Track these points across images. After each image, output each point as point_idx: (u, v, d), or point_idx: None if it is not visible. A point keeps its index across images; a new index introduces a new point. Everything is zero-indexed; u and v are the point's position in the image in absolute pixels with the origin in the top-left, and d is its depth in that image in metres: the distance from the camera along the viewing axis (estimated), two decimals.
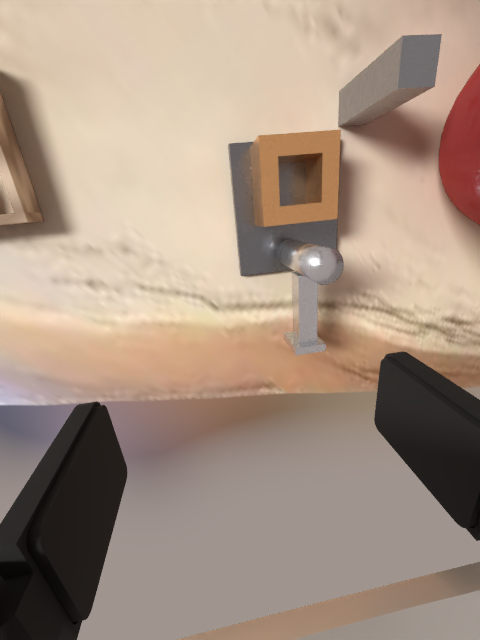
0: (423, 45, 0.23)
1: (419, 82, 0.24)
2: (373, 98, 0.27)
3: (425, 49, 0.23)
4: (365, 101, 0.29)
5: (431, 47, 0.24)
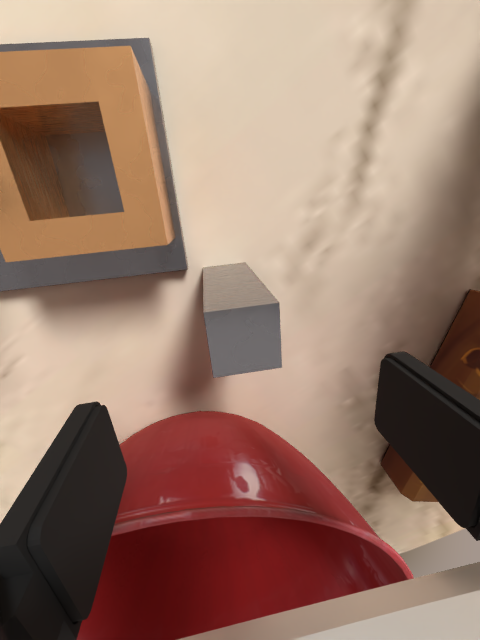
0: (267, 342, 0.14)
1: (216, 350, 0.13)
2: (211, 289, 0.16)
3: (262, 347, 0.14)
4: (213, 283, 0.17)
5: (265, 356, 0.14)
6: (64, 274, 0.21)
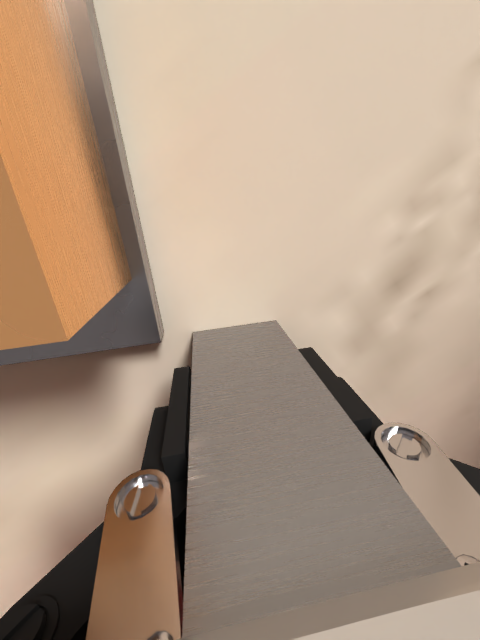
0: None
1: None
2: (216, 491, 0.05)
3: None
4: (220, 432, 0.06)
5: None
6: None
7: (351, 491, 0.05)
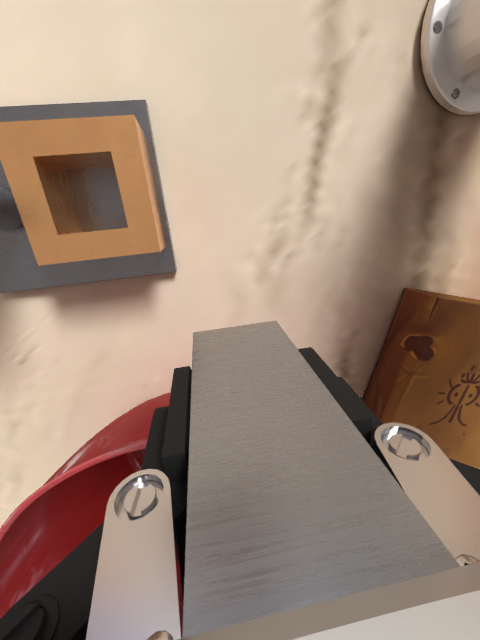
0: None
1: None
2: (216, 491, 0.05)
3: None
4: (220, 432, 0.06)
5: None
6: (76, 276, 0.26)
7: (350, 491, 0.05)
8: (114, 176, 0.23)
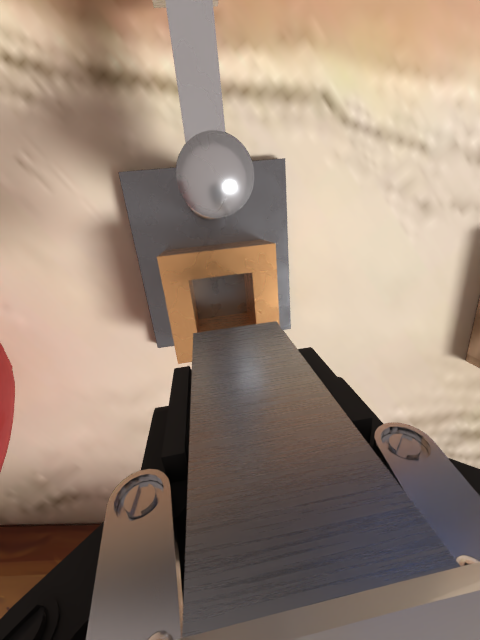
0: None
1: None
2: (216, 493, 0.05)
3: None
4: (220, 434, 0.06)
5: None
6: (145, 256, 0.25)
7: (352, 493, 0.05)
8: (238, 301, 0.27)
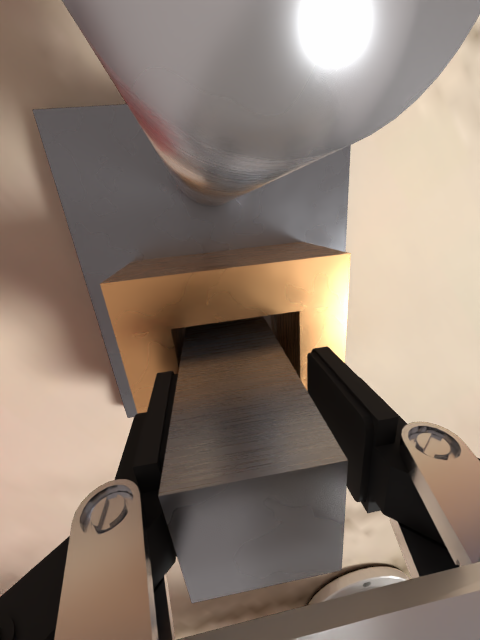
0: (314, 534, 0.06)
1: (196, 559, 0.06)
2: (193, 378, 0.08)
3: (301, 543, 0.06)
4: (200, 356, 0.10)
5: (307, 557, 0.06)
6: (97, 272, 0.14)
7: (268, 375, 0.08)
8: None
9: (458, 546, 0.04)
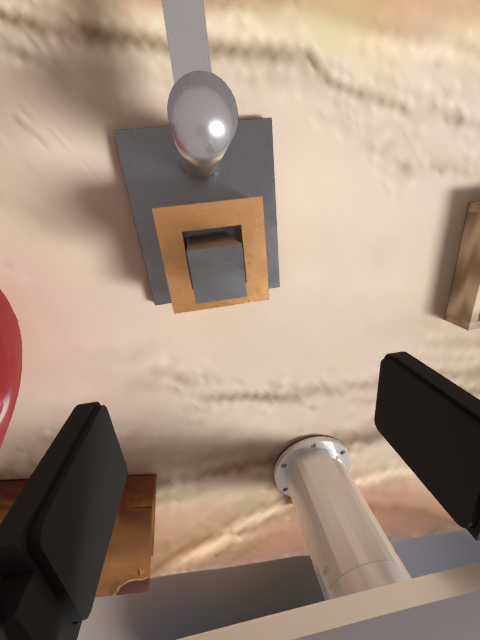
0: (235, 275, 0.18)
1: (197, 281, 0.18)
2: (194, 243, 0.21)
3: (231, 279, 0.19)
4: (196, 241, 0.22)
5: (234, 287, 0.19)
6: (140, 214, 0.26)
7: (224, 240, 0.21)
8: None
9: None
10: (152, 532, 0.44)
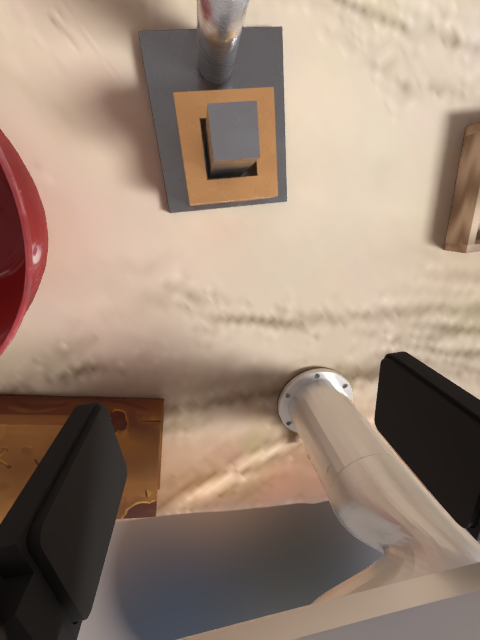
0: (250, 133, 0.20)
1: (216, 137, 0.20)
2: None
3: (246, 138, 0.20)
4: None
5: (248, 146, 0.21)
6: (160, 117, 0.28)
7: None
8: None
9: None
10: (159, 462, 0.45)
